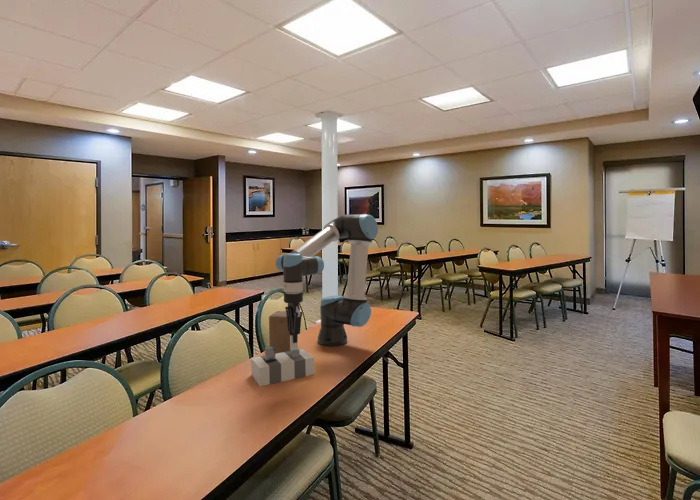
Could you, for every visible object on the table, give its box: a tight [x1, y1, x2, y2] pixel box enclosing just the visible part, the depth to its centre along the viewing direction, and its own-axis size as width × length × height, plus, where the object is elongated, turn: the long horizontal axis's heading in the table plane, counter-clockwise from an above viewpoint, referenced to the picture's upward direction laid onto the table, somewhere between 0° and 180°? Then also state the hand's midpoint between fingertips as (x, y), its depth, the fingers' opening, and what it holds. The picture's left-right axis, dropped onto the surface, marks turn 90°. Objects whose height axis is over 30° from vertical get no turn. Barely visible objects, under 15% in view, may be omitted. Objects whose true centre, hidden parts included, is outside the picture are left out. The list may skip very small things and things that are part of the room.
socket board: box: [250, 348, 315, 387], centre depth 153 cm, size 22×12×7 cm, turn 119°
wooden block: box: [268, 310, 290, 354], centre depth 173 cm, size 10×10×20 cm
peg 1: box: [264, 345, 276, 363], centre depth 151 cm, size 4×4×7 cm
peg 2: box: [289, 348, 299, 358], centre depth 156 cm, size 4×4×7 cm
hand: (294, 349), depth 155 cm, fingers closed
